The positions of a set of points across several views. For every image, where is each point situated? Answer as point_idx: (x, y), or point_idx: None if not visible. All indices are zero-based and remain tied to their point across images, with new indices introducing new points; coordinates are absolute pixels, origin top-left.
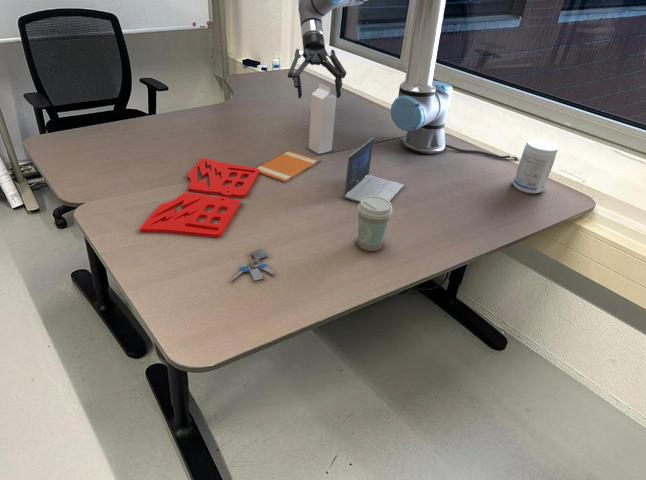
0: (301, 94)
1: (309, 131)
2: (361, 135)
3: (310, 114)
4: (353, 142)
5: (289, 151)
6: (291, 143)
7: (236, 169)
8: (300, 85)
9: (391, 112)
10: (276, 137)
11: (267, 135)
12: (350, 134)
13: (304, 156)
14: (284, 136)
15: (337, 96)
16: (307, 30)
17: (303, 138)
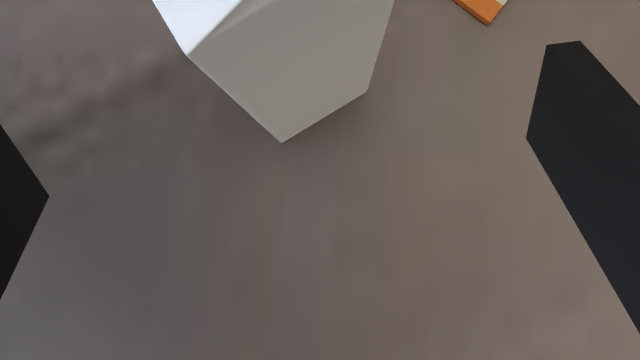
0: (549, 56)
1: (374, 64)
2: (3, 321)
3: (388, 19)
4: (76, 201)
5: (490, 10)
6: (466, 163)
7: None
8: (623, 127)
9: None
10: (558, 256)
11: None
12: (71, 335)
13: None
14: (506, 276)
15: (32, 176)
16: None
17: (385, 249)
